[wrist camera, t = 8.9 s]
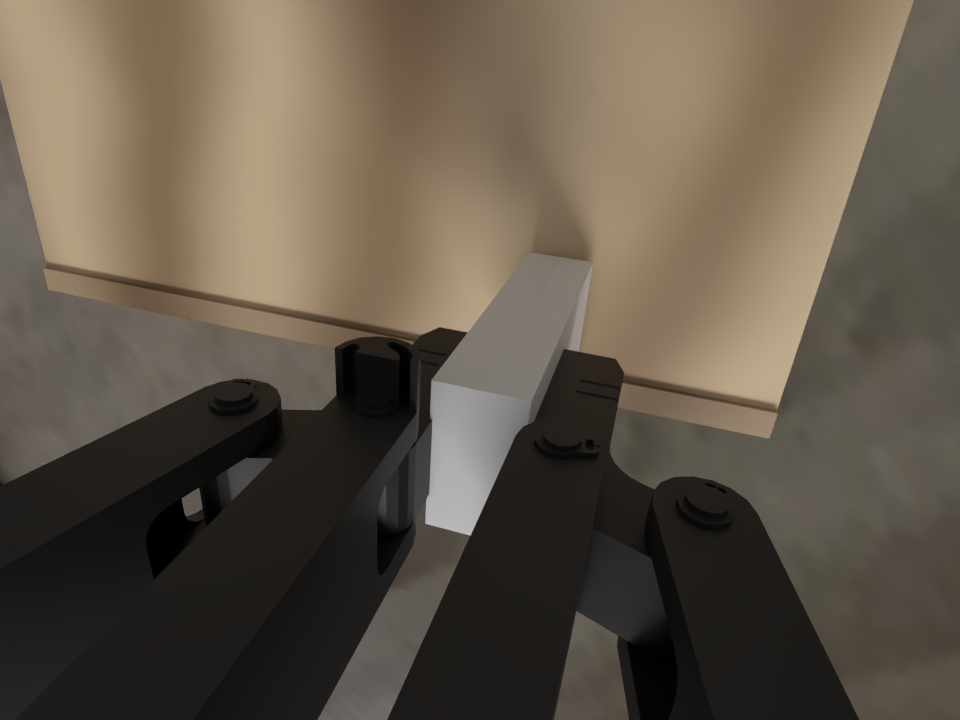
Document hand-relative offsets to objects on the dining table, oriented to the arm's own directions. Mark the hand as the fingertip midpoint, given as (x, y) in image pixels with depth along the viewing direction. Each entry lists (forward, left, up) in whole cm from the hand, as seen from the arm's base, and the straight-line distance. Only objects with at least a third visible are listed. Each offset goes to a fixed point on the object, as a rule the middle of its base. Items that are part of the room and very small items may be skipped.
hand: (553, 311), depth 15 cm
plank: (-5, +2, -2) cm, 6 cm away
